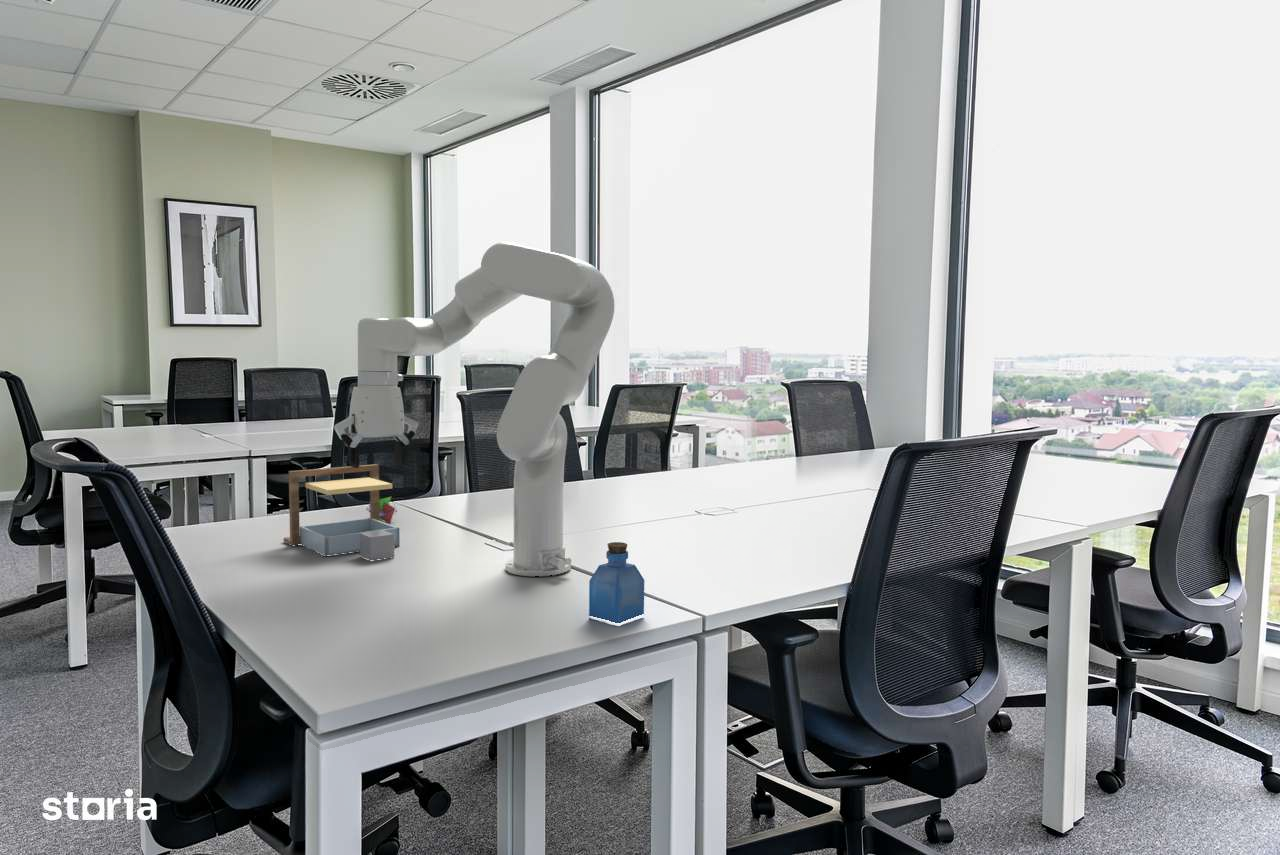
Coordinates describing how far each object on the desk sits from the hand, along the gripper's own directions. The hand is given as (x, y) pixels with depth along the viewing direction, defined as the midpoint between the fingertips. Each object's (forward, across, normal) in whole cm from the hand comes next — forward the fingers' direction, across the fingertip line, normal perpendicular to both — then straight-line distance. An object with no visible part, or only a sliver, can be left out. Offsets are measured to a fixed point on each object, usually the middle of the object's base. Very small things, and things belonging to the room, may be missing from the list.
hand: (377, 465), depth 172 cm
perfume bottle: (+18, -12, +61) cm, 65 cm away
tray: (+19, 0, -13) cm, 23 cm away
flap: (+6, +1, -13) cm, 15 cm away
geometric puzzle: (+19, -15, -32) cm, 40 cm away
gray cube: (+19, 0, 0) cm, 19 cm away
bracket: (+19, +1, -22) cm, 29 cm away
